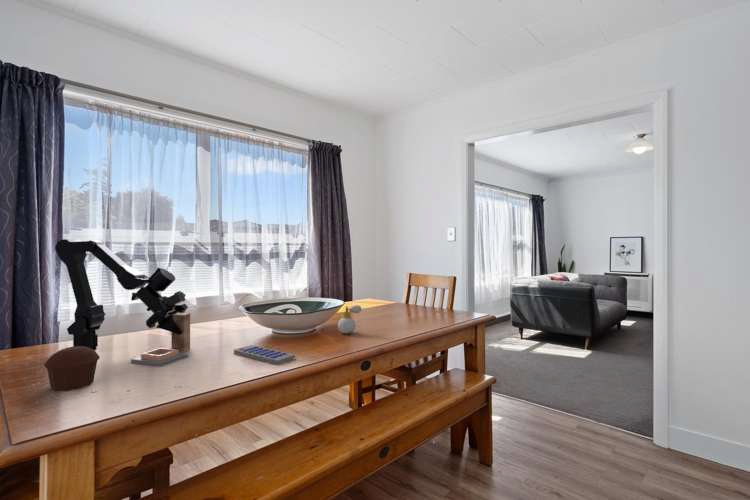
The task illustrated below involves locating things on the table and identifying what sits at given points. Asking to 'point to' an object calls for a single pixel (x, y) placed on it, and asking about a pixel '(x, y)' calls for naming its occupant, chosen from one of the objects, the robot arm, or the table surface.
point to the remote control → (264, 354)
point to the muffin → (72, 368)
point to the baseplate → (159, 357)
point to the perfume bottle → (348, 320)
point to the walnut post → (182, 340)
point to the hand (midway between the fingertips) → (184, 332)
